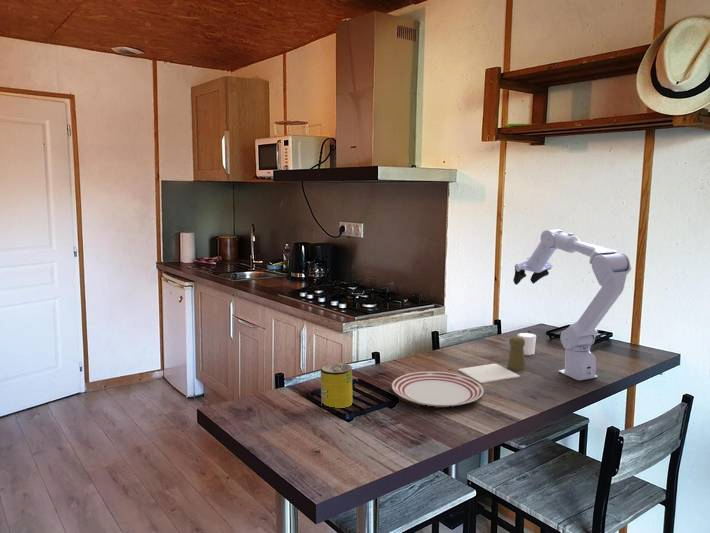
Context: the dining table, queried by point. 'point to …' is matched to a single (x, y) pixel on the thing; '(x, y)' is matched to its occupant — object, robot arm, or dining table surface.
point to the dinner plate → (437, 388)
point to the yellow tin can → (336, 385)
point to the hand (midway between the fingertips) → (523, 282)
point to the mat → (488, 373)
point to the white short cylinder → (528, 342)
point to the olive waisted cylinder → (516, 354)
